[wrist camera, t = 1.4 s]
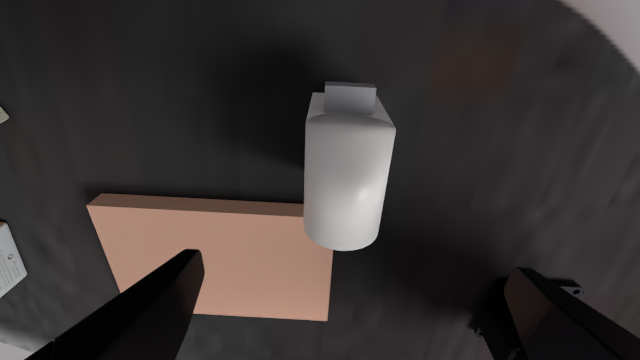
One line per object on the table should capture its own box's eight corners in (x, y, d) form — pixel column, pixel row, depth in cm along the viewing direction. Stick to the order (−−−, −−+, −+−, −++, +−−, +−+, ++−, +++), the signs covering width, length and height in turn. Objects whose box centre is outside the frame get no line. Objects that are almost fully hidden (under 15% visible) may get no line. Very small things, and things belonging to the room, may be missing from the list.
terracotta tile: (335, 205, 20) (335, 218, 19) (327, 305, 25) (327, 320, 24) (101, 193, 21) (86, 205, 19) (137, 294, 25) (127, 309, 24)
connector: (379, 73, 16) (411, 110, 10) (366, 174, 19) (383, 253, 13) (313, 70, 16) (302, 105, 10) (310, 171, 19) (299, 248, 13)
